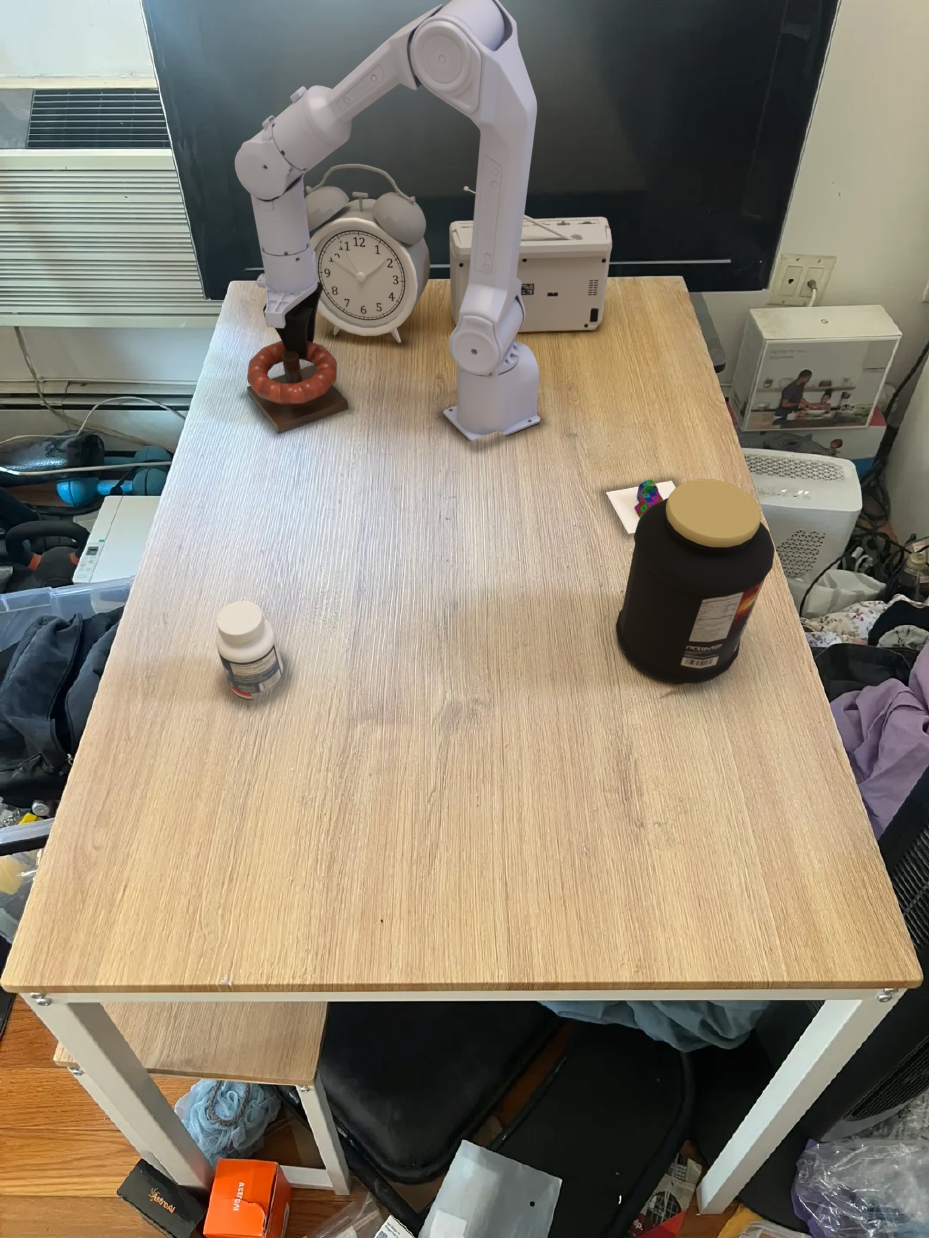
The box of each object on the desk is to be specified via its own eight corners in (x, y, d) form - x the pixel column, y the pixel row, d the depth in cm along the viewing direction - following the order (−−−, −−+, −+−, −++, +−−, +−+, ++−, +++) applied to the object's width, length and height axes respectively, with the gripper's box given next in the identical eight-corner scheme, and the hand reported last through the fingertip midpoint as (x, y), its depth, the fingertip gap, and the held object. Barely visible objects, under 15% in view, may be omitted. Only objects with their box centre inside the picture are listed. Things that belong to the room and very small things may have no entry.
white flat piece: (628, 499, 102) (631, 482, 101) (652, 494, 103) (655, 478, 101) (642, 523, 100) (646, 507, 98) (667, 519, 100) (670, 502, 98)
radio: (596, 304, 130) (613, 159, 115) (605, 335, 125) (624, 187, 110) (450, 308, 129) (448, 163, 114) (453, 340, 124) (450, 192, 109)
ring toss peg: (315, 372, 119) (308, 326, 114) (348, 408, 114) (343, 362, 109) (248, 394, 116) (238, 348, 111) (278, 434, 111) (269, 387, 106)
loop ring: (311, 341, 117) (309, 325, 115) (353, 387, 112) (351, 371, 110) (234, 371, 113) (231, 355, 111) (274, 419, 108) (271, 404, 106)
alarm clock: (305, 338, 125) (280, 174, 108) (325, 305, 130) (304, 144, 114) (422, 352, 122) (414, 186, 106) (437, 319, 128) (432, 156, 111)
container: (715, 594, 93) (757, 455, 79) (756, 688, 85) (811, 551, 72) (599, 607, 92) (622, 468, 78) (630, 703, 84) (661, 567, 70)
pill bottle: (231, 658, 88) (211, 596, 81) (286, 654, 88) (271, 592, 81) (226, 702, 84) (205, 641, 78) (283, 699, 84) (267, 637, 78)
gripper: (270, 212, 109) (287, 315, 119) (230, 273, 99) (252, 379, 110) (327, 217, 108) (339, 320, 118) (293, 278, 99) (309, 384, 109)
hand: (301, 349), depth 114 cm, fingers closed on loop ring, 3 cm apart
